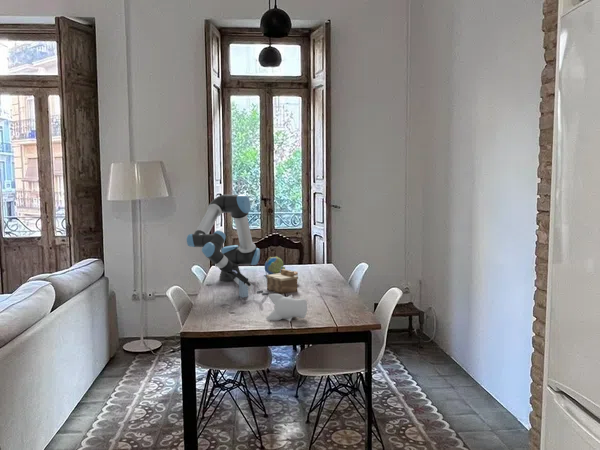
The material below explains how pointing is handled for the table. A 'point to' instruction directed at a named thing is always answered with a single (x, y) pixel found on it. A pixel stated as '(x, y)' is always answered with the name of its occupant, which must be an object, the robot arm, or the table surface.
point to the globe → (274, 265)
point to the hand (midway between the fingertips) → (247, 286)
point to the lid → (283, 275)
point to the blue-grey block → (243, 289)
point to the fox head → (287, 307)
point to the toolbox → (282, 285)
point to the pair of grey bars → (263, 292)
